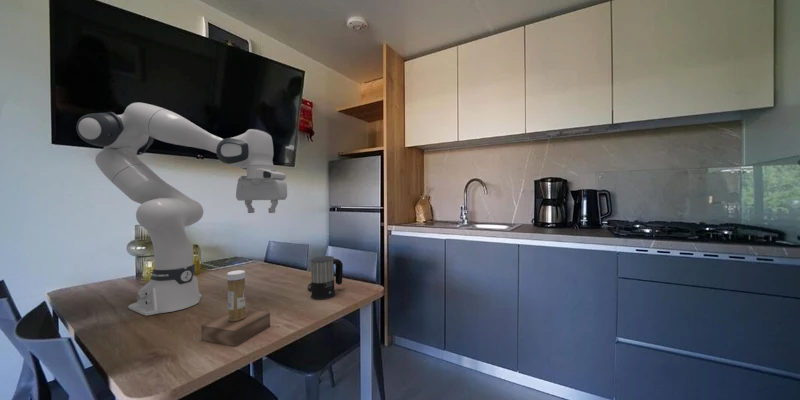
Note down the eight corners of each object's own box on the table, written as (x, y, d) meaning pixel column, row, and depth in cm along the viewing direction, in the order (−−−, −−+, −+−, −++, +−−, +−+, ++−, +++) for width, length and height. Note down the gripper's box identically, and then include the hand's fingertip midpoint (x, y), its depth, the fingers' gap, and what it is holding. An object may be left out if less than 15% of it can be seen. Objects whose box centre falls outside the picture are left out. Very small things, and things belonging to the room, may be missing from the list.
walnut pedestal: (201, 339, 77) (201, 325, 77) (239, 321, 88) (238, 308, 88) (235, 346, 73) (235, 331, 73) (270, 326, 85) (269, 312, 85)
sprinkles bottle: (246, 319, 80) (245, 272, 80) (227, 323, 78) (226, 274, 78) (245, 314, 84) (244, 268, 84) (227, 317, 82) (226, 271, 82)
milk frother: (325, 301, 105) (324, 261, 105) (291, 296, 111) (291, 258, 110) (346, 289, 118) (345, 254, 118) (315, 285, 124) (314, 252, 124)
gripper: (231, 175, 103) (231, 213, 103) (277, 172, 97) (277, 213, 97) (245, 176, 109) (246, 212, 109) (289, 174, 103) (290, 212, 103)
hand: (261, 213), depth 103 cm, fingers open, 8 cm apart
